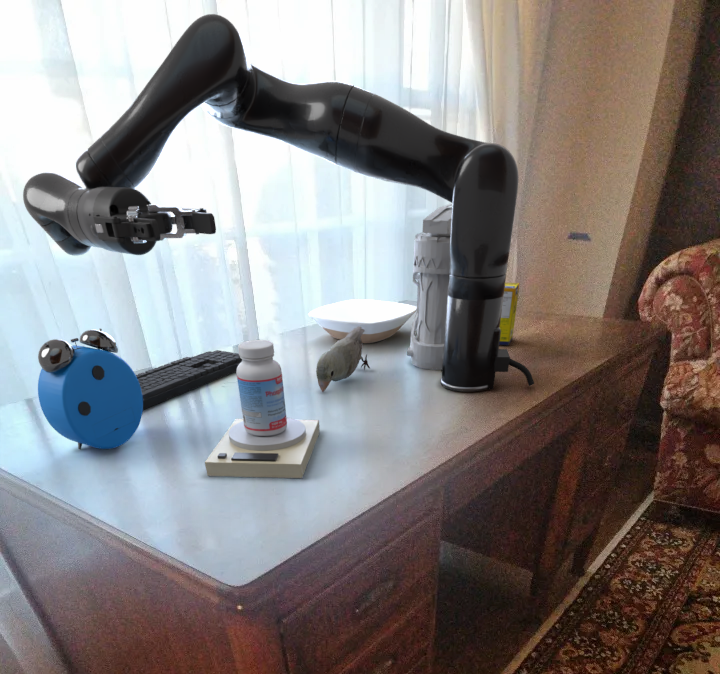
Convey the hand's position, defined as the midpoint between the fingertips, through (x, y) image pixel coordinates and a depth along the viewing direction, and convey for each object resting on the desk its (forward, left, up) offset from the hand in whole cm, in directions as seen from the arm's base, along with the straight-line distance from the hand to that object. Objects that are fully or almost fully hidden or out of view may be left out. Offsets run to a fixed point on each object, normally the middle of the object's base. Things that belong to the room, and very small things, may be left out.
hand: (185, 227), depth 72 cm
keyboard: (+16, -22, -26) cm, 38 cm away
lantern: (-34, -39, -26) cm, 58 cm away
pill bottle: (-9, +6, -23) cm, 26 cm away
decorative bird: (-16, -26, -26) cm, 40 cm away
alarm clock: (+16, +6, -26) cm, 31 cm away
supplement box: (-47, -54, -26) cm, 76 cm away
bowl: (-17, -59, -26) cm, 67 cm away
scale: (-9, +8, -26) cm, 29 cm away
